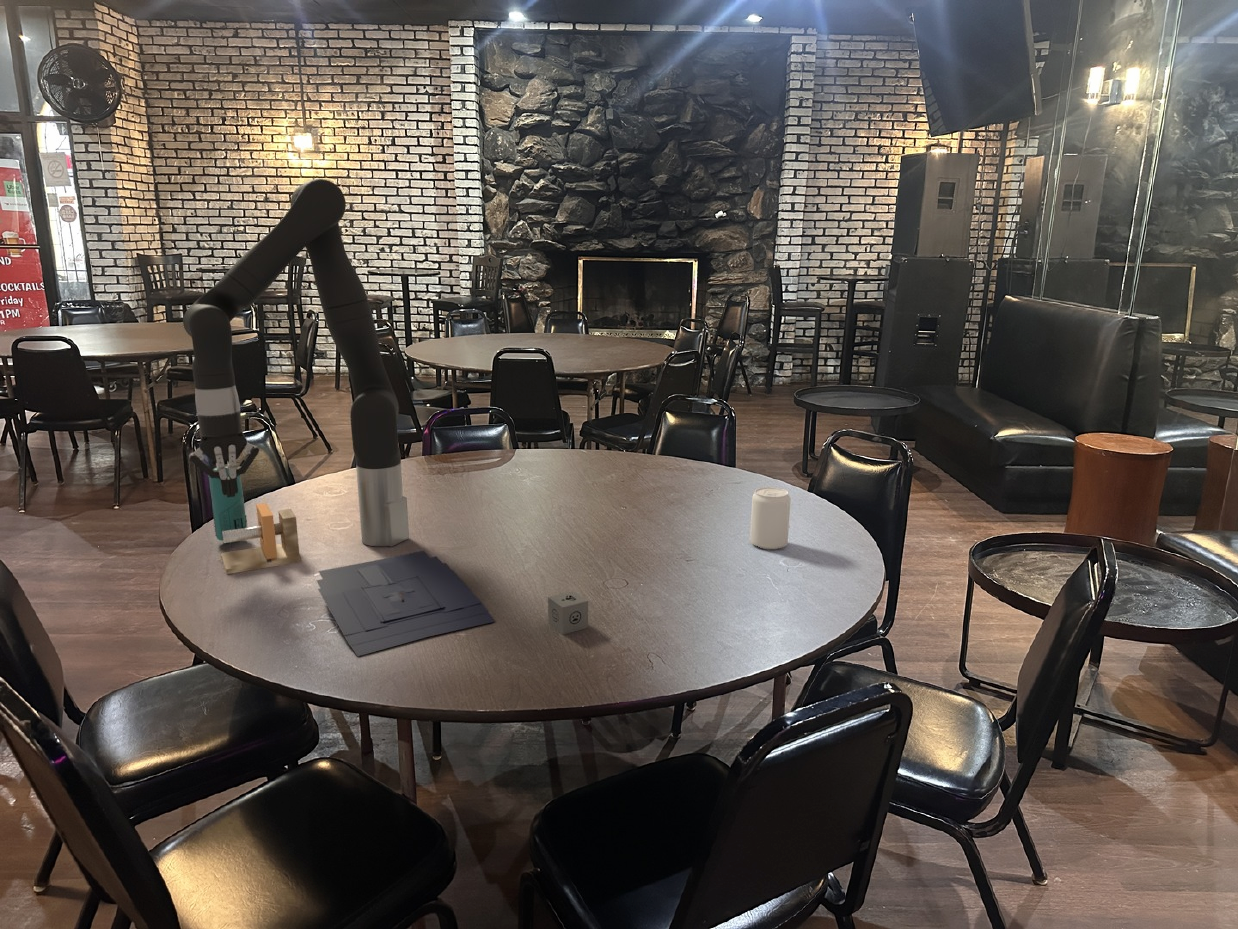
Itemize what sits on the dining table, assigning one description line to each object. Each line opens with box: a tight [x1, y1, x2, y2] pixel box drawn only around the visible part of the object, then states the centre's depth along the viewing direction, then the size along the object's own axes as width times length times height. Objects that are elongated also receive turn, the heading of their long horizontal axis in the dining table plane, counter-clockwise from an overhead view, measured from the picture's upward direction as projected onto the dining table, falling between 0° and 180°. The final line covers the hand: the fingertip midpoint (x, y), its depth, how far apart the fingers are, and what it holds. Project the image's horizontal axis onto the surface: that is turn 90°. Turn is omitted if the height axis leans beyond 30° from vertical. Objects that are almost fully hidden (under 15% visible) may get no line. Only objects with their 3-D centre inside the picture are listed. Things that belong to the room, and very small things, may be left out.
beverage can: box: [749, 486, 791, 550], centre depth 182 cm, size 8×8×12 cm
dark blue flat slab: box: [316, 550, 496, 657], centre depth 150 cm, size 24×30×4 cm
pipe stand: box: [220, 508, 303, 575], centre depth 171 cm, size 14×10×9 cm
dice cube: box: [547, 590, 589, 636], centre depth 143 cm, size 5×5×5 cm
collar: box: [255, 502, 277, 559], centre depth 171 cm, size 2×9×9 cm, turn 30°
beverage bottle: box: [207, 460, 248, 542], centre depth 179 cm, size 6×7×20 cm
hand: (230, 496), depth 166 cm, fingers closed
